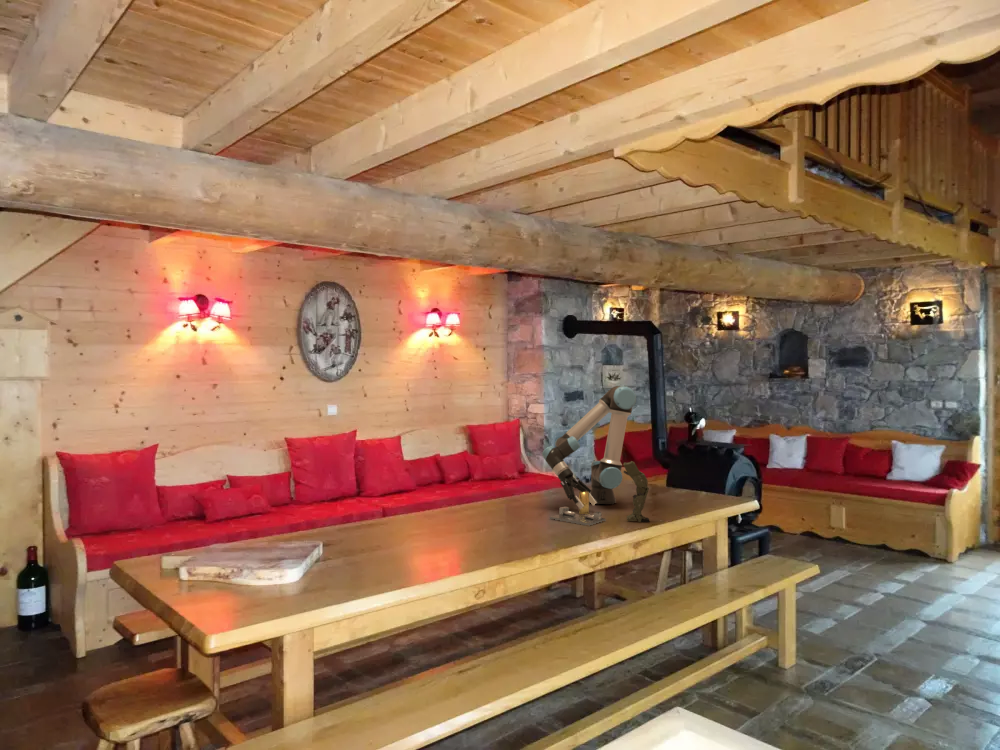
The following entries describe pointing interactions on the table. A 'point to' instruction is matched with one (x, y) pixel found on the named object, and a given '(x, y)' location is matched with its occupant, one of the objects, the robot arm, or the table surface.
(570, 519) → the bed plate
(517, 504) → the table surface
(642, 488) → the mechanical leg
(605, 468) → the robot arm
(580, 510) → the orange glossy cylinder
